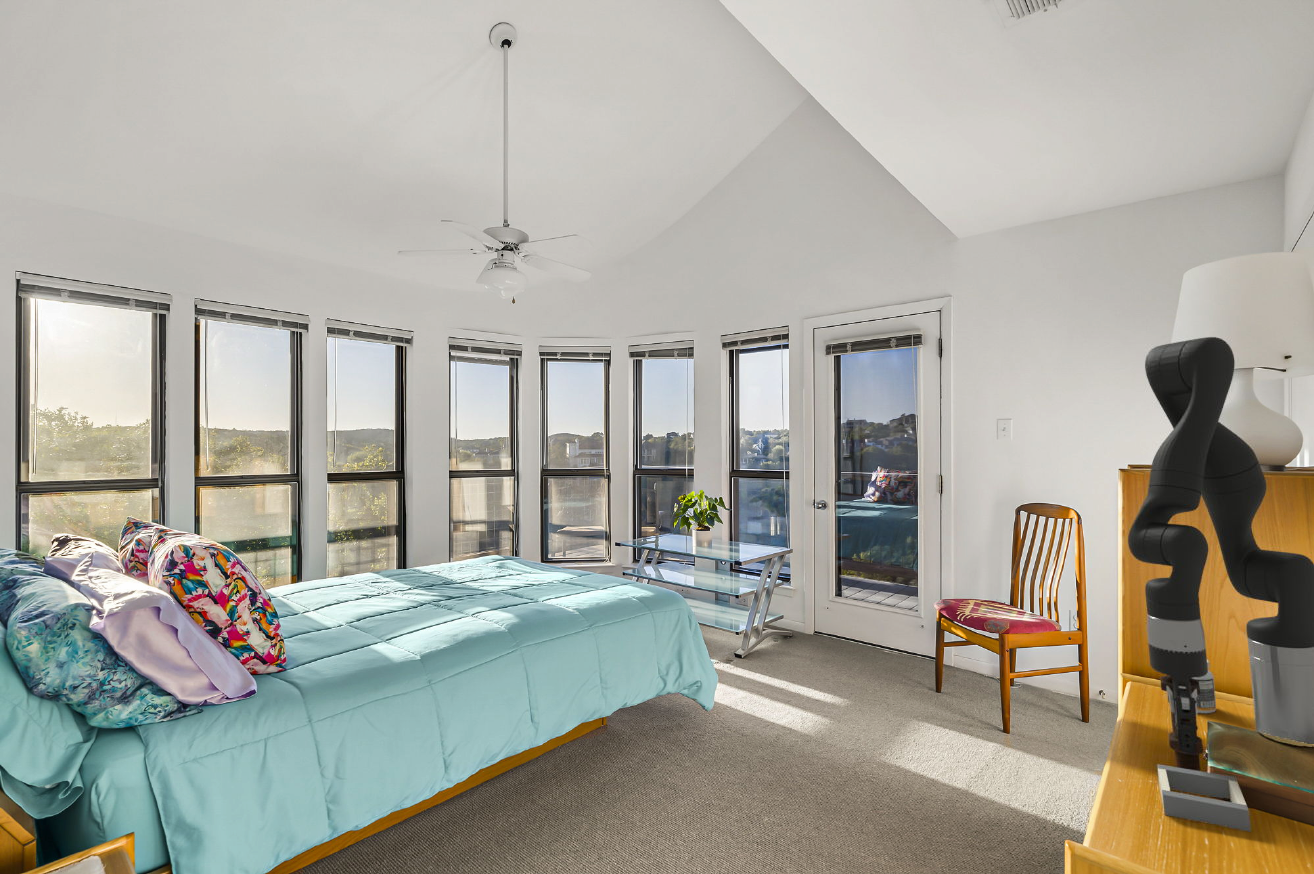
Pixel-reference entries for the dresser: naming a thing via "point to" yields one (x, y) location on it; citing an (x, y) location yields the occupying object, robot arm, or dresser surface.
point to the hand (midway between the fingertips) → (1185, 743)
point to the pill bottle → (1206, 693)
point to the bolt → (1182, 758)
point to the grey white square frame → (1201, 807)
